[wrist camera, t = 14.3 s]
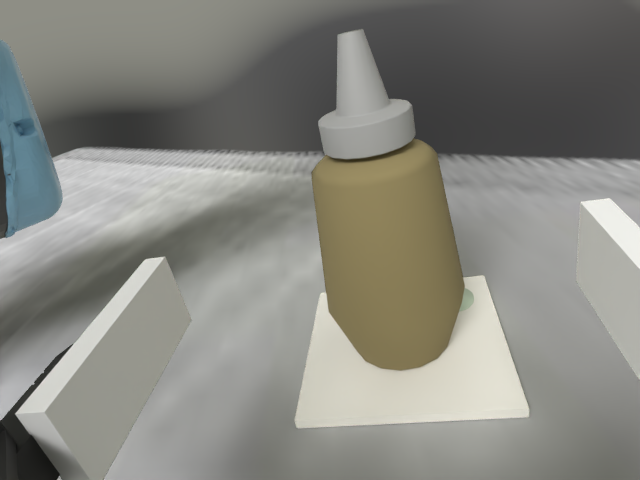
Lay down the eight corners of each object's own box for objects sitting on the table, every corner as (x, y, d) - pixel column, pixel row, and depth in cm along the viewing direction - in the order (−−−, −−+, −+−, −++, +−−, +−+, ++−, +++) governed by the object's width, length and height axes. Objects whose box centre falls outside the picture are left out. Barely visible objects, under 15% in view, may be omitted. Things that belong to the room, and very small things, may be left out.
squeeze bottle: (433, 288, 33) (400, 13, 25) (496, 360, 26) (478, 9, 18) (325, 322, 33) (255, 49, 24) (359, 406, 25) (276, 59, 17)
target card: (297, 428, 26) (293, 418, 25) (321, 299, 36) (319, 291, 36) (529, 417, 23) (529, 406, 23) (484, 282, 34) (483, 273, 33)
